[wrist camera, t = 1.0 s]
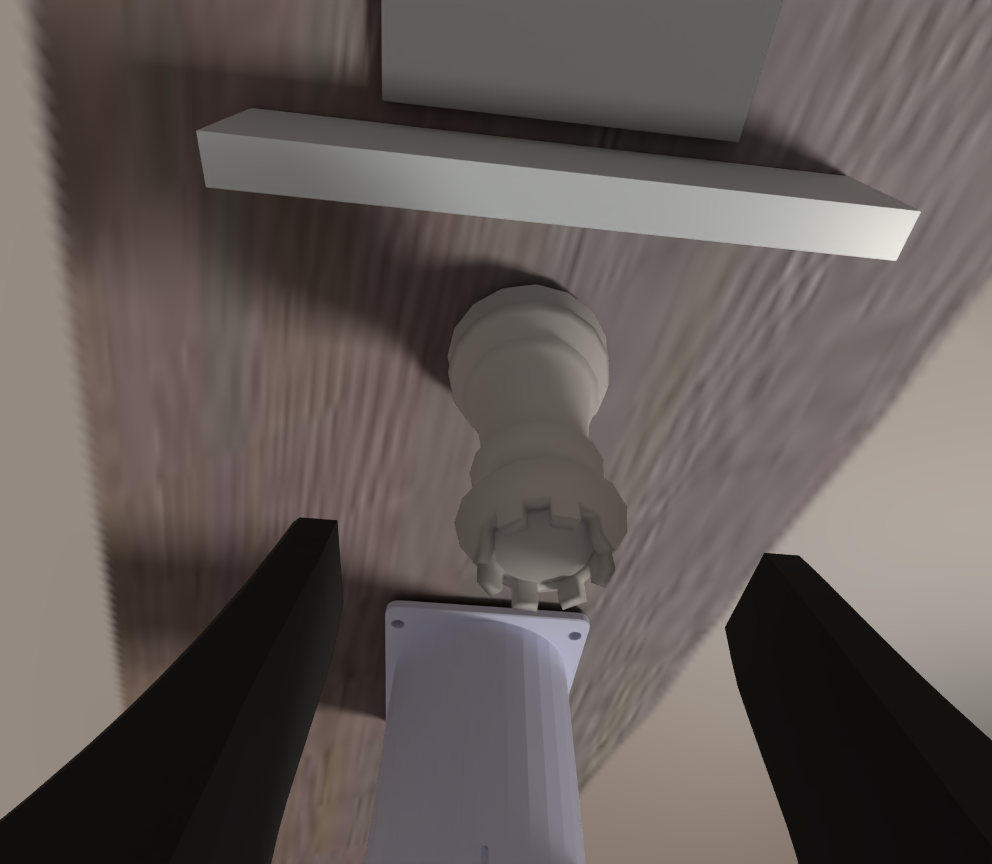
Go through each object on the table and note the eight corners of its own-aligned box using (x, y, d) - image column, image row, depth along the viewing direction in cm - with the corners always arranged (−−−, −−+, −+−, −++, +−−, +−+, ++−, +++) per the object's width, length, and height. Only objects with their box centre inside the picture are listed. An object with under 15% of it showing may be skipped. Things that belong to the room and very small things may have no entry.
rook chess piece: (424, 306, 16) (373, 507, 10) (584, 254, 15) (647, 436, 9) (479, 433, 19) (469, 661, 12) (620, 394, 18) (690, 616, 11)
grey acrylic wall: (830, 219, 15) (896, 260, 12) (256, 155, 14) (205, 187, 12) (848, 175, 14) (920, 211, 12) (250, 107, 13) (195, 130, 11)
